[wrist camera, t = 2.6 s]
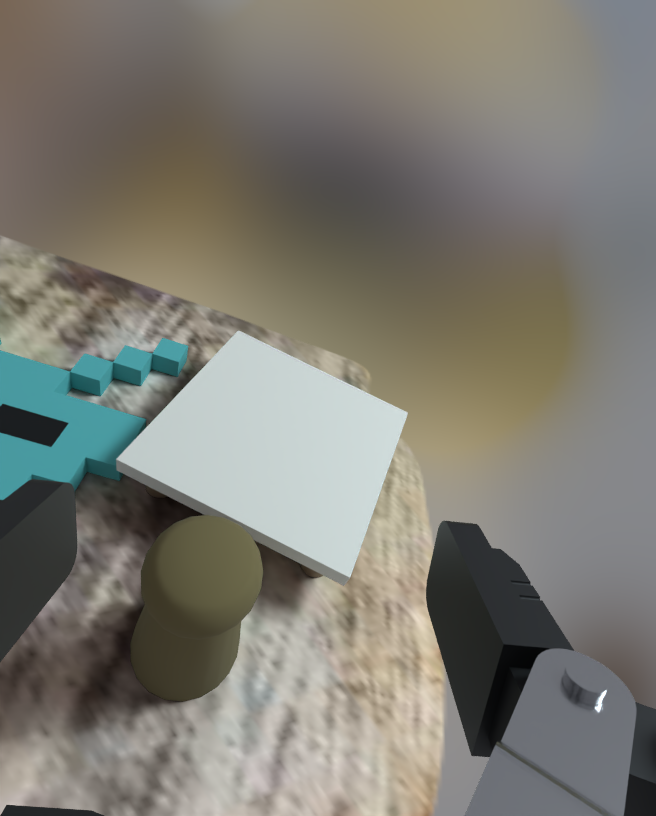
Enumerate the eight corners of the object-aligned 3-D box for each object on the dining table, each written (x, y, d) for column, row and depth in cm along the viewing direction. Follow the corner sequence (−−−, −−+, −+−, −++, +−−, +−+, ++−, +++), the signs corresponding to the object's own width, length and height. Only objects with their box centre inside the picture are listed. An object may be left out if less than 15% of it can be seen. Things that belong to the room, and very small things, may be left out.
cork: (167, 729, 25) (183, 669, 17) (109, 631, 27) (100, 539, 19) (259, 650, 28) (307, 572, 21) (202, 570, 31) (226, 472, 23)
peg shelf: (117, 493, 32) (116, 459, 30) (231, 364, 44) (238, 330, 41) (330, 602, 32) (350, 577, 29) (389, 441, 43) (408, 412, 40)
